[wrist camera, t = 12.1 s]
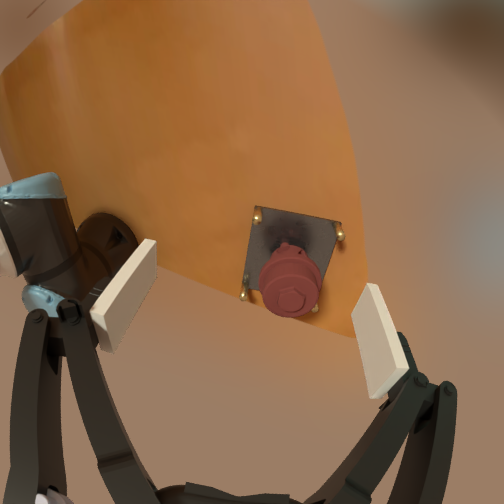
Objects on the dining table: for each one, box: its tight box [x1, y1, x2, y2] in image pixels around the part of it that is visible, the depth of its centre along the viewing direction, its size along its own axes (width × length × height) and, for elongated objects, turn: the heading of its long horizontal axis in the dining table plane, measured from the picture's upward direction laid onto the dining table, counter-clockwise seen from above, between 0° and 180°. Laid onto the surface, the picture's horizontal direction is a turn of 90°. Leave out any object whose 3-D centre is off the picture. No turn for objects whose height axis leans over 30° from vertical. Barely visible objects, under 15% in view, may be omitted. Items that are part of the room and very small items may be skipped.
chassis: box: [239, 205, 345, 312], centre depth 49 cm, size 15×17×4 cm
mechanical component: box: [258, 242, 322, 317], centre depth 45 cm, size 12×10×10 cm
